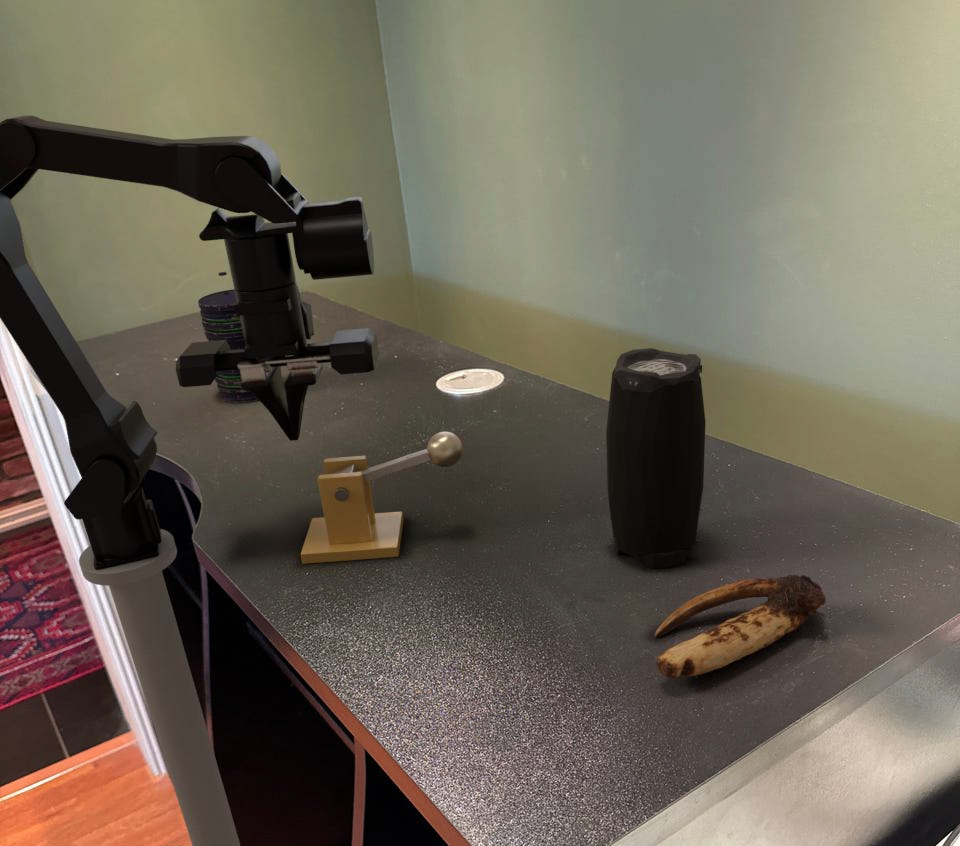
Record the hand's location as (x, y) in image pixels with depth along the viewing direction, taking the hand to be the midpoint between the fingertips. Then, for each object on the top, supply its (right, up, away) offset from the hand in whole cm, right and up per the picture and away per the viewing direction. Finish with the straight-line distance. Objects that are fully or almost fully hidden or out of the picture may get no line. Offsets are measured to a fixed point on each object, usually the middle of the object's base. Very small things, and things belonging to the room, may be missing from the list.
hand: (294, 438), depth 92 cm
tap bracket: (+5, -10, +5) cm, 13 cm away
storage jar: (-17, +12, +51) cm, 55 cm away
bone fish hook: (+40, -19, -15) cm, 46 cm away
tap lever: (+11, -4, +2) cm, 12 cm away
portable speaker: (+36, -11, -1) cm, 38 cm away
